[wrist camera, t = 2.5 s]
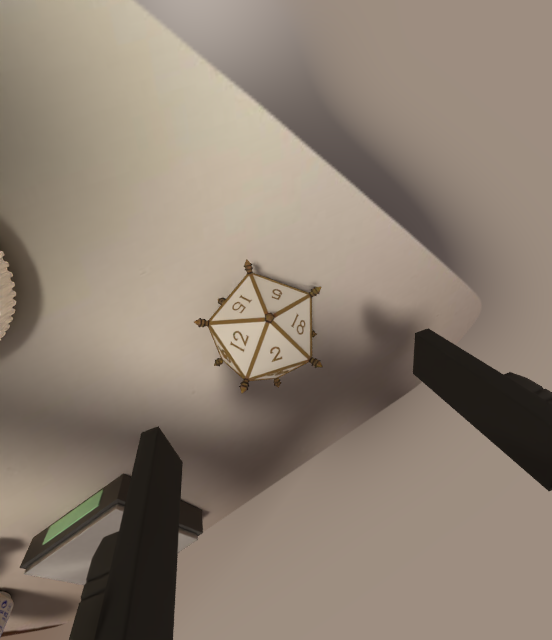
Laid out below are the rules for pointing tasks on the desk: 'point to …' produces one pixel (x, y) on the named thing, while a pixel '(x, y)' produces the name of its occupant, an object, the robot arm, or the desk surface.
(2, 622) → the beverage can
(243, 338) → the game die
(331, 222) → the desk surface
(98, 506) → the scale
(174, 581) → the robot arm
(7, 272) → the plastic lid
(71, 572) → the scale pan
